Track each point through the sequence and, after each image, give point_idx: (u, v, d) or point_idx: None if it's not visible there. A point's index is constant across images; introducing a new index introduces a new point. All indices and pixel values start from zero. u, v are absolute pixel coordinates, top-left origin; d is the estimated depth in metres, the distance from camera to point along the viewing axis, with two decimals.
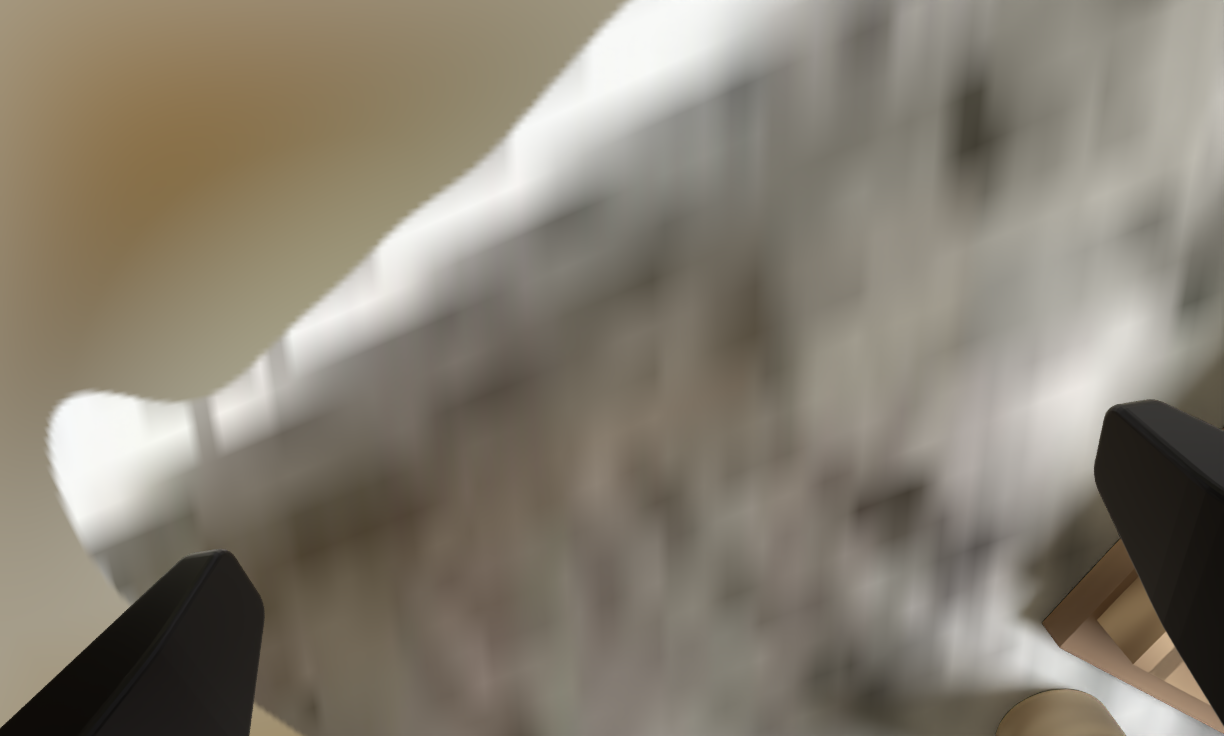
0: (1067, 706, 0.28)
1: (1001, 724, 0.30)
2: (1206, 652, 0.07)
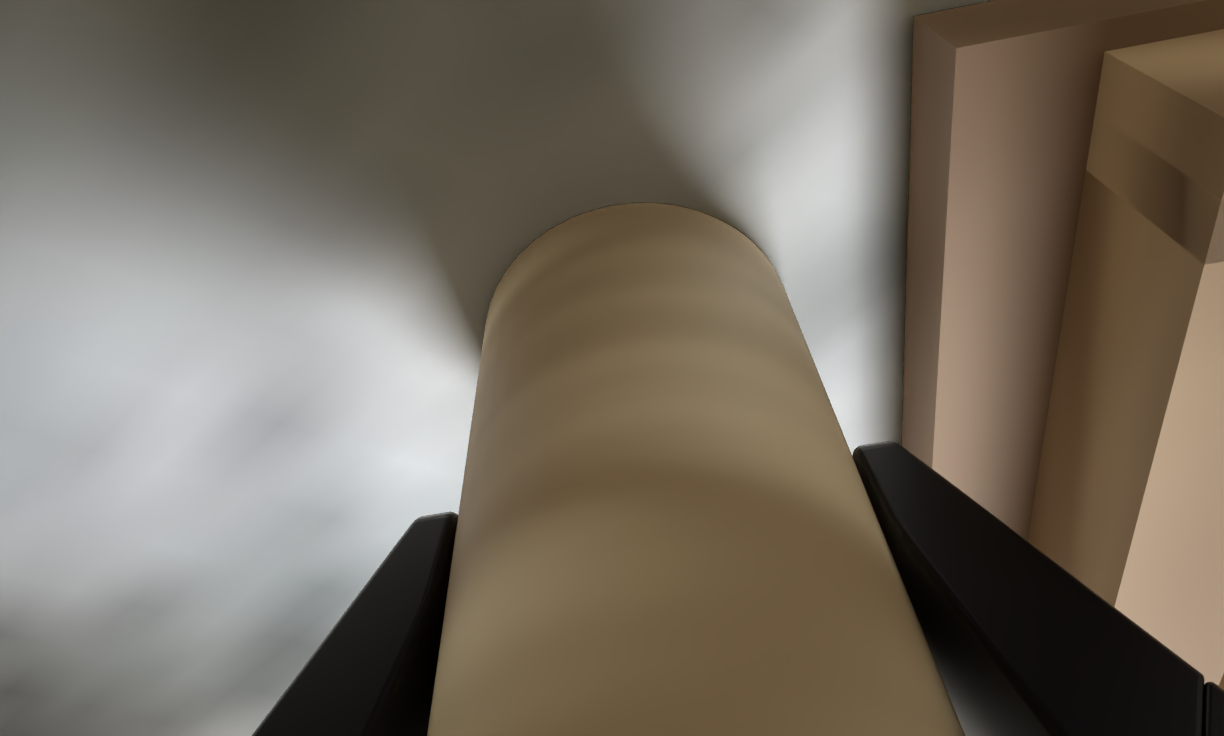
0: (762, 272, 0.10)
1: (569, 225, 0.10)
2: None
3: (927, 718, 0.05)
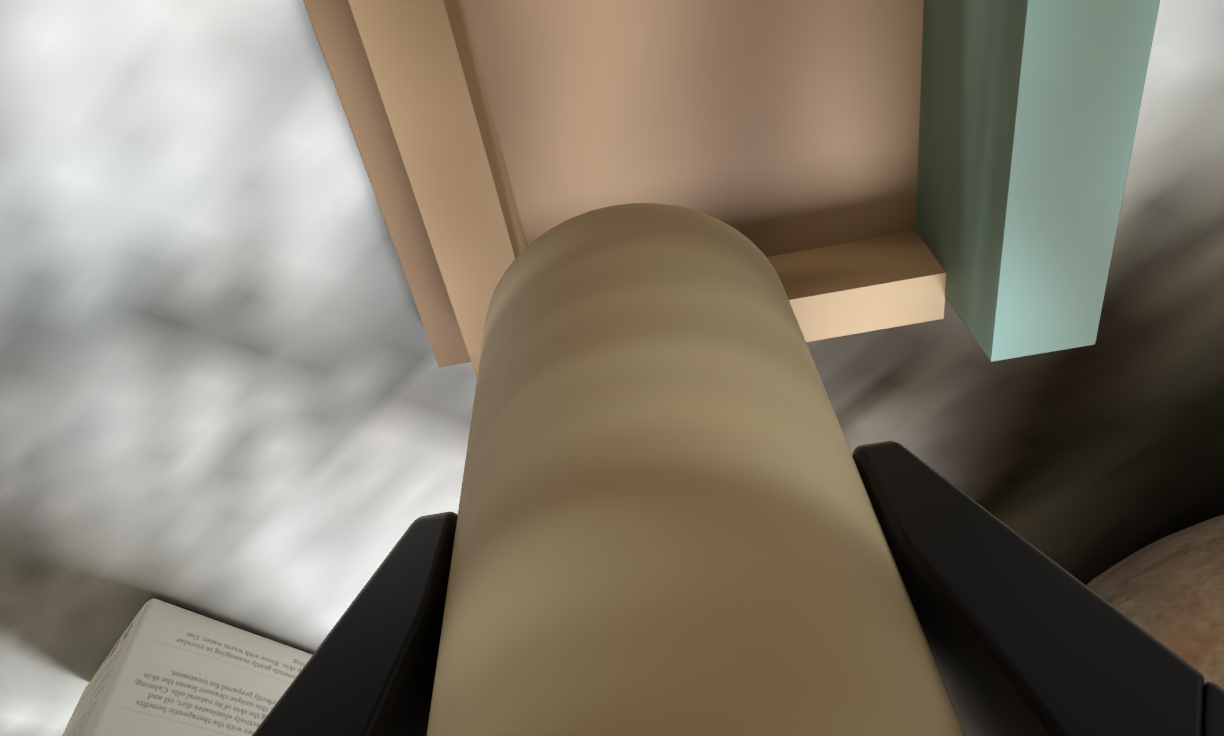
0: (762, 272, 0.10)
1: (569, 225, 0.10)
2: None
3: (928, 721, 0.05)
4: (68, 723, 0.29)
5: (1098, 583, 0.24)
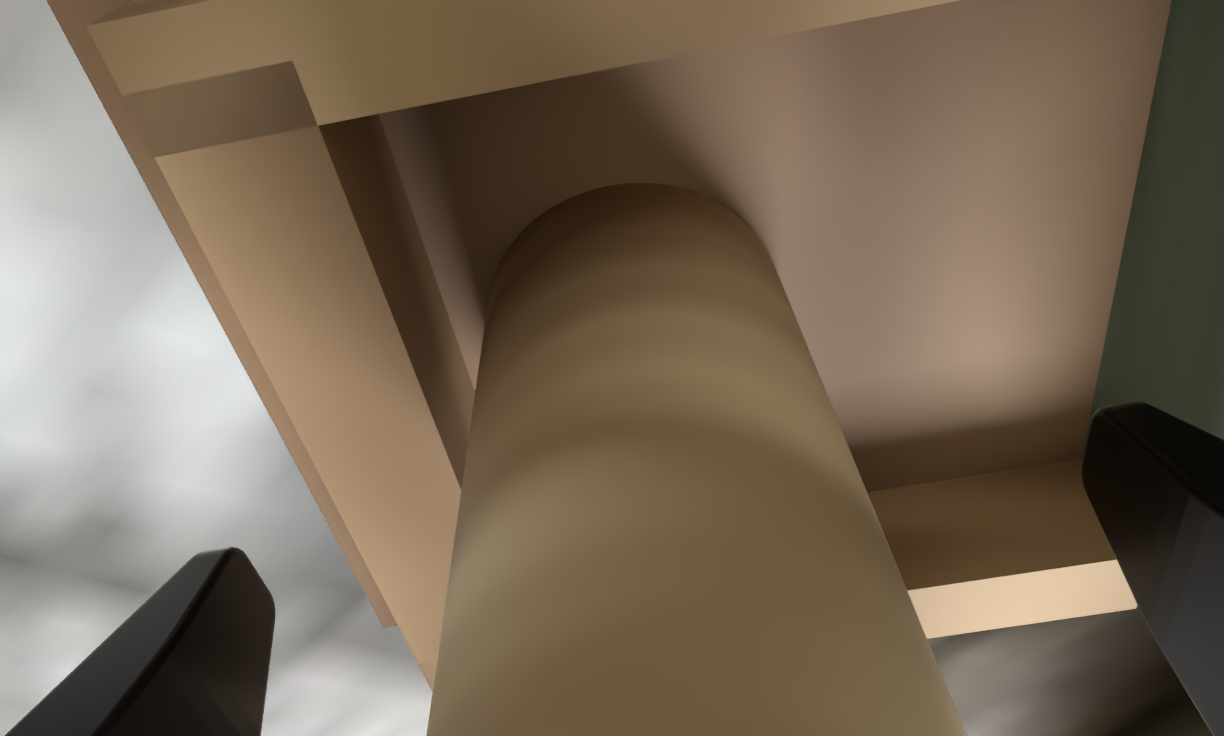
0: (753, 248, 0.10)
1: (568, 204, 0.11)
2: (1191, 654, 0.07)
3: (899, 639, 0.06)
4: None
5: None
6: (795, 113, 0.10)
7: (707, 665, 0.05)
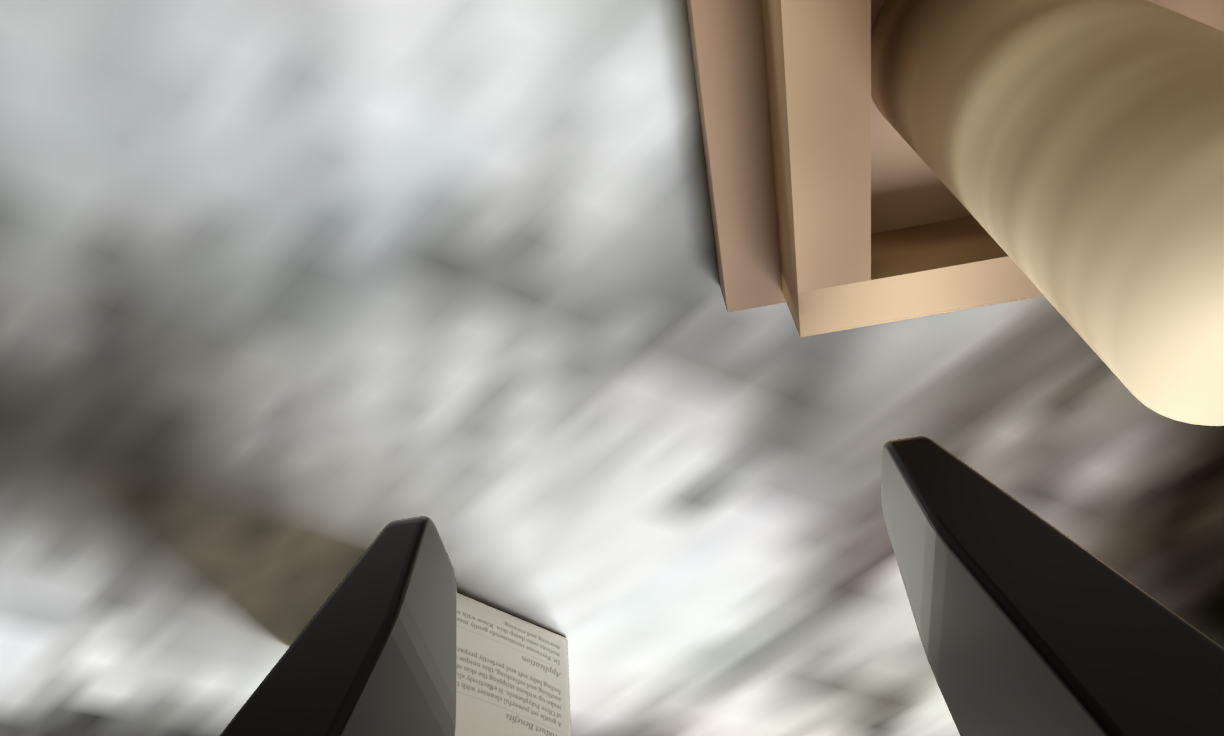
0: None
1: None
2: (953, 687, 0.07)
3: None
4: None
5: None
6: None
7: (1193, 32, 0.11)
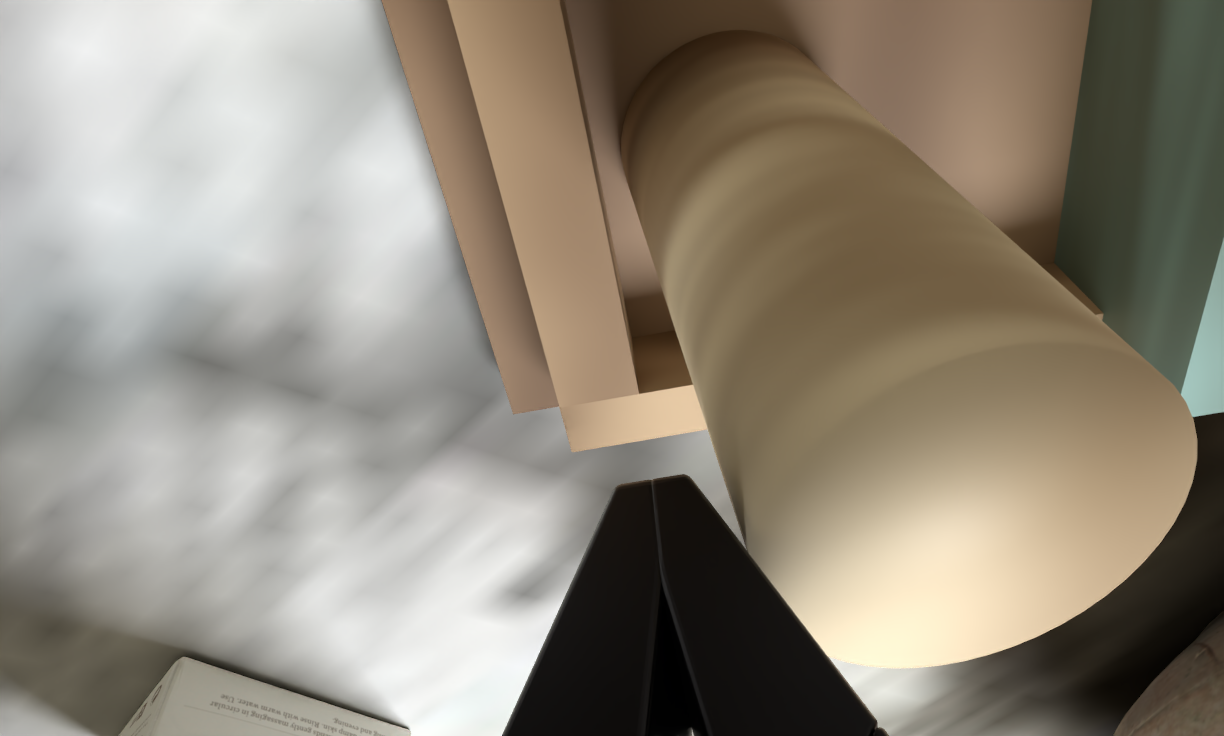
0: None
1: (685, 48, 0.15)
2: (692, 724, 0.08)
3: (968, 201, 0.10)
4: None
5: None
6: None
7: (876, 183, 0.09)
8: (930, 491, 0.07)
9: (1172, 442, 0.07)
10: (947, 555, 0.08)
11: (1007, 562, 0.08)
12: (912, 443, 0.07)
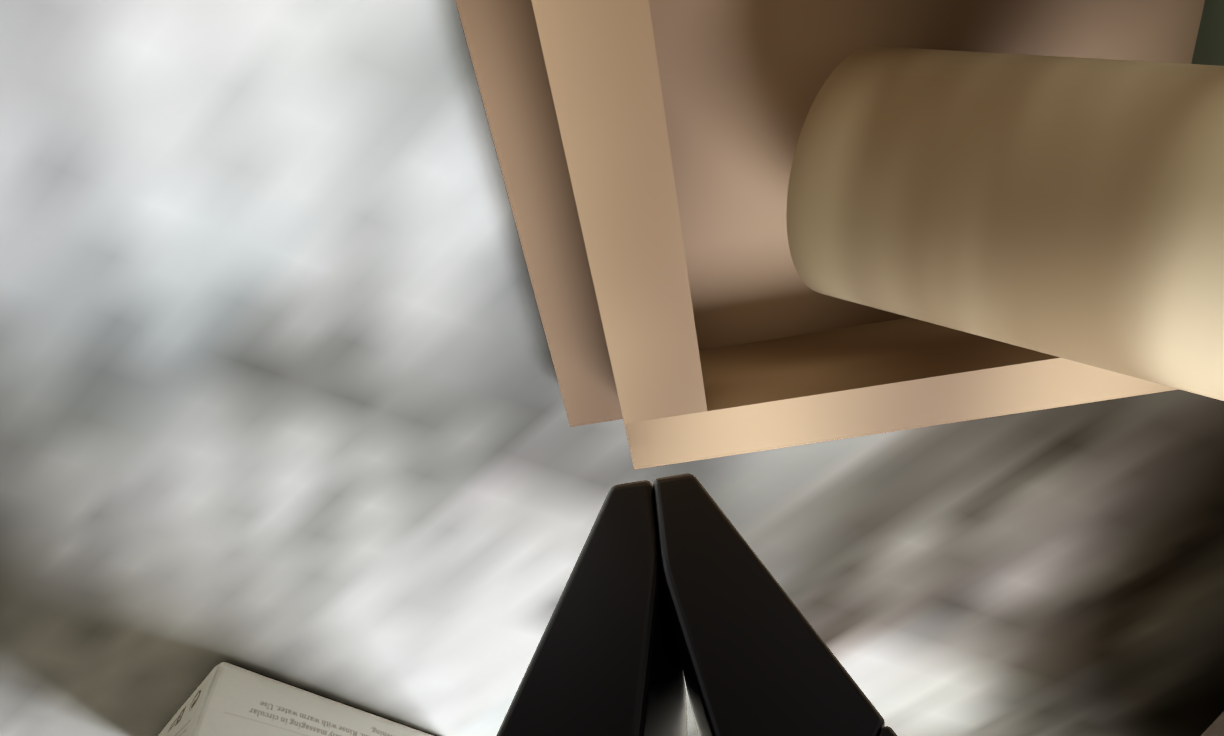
0: None
1: (833, 75, 0.13)
2: (697, 723, 0.08)
3: None
4: None
5: None
6: None
7: None
8: None
9: None
10: None
11: None
12: None
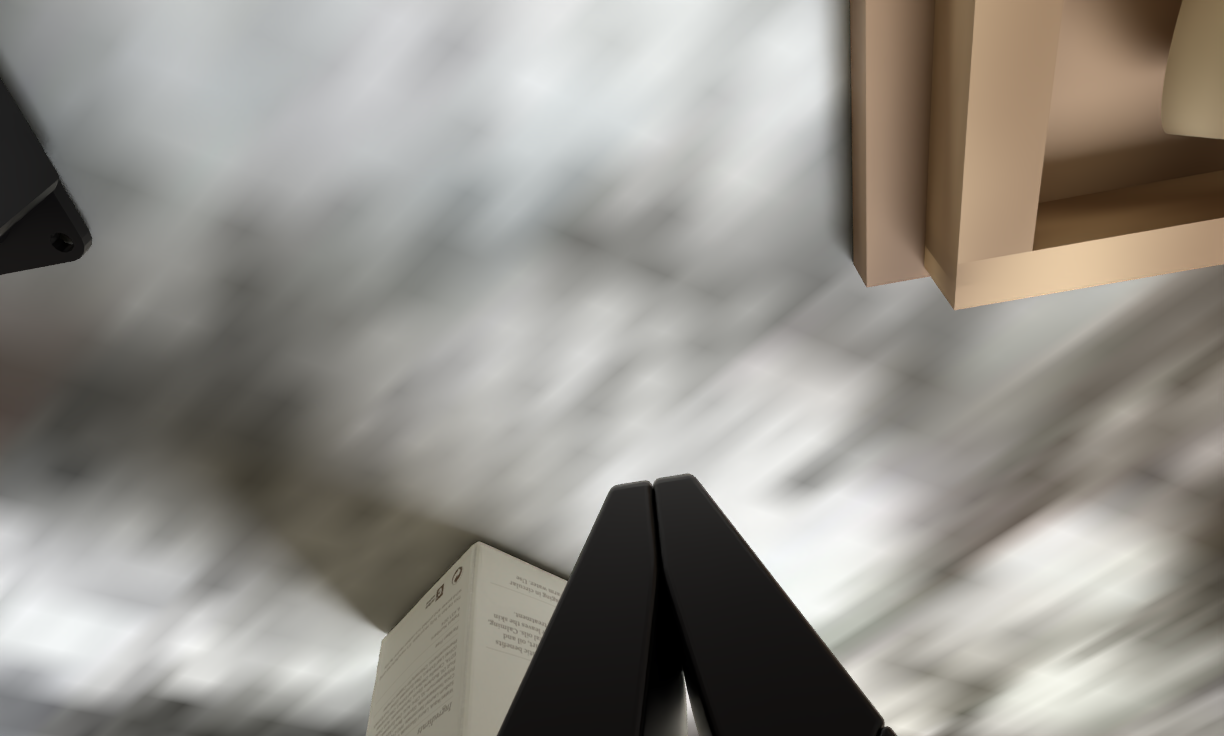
0: None
1: None
2: (697, 724, 0.08)
3: None
4: (381, 671, 0.28)
5: None
6: None
7: None
8: None
9: None
10: None
11: None
12: None
